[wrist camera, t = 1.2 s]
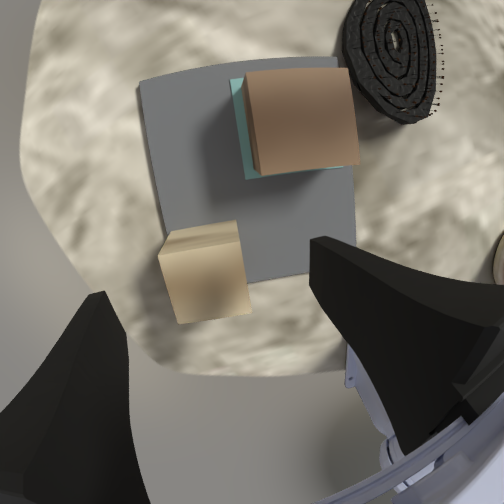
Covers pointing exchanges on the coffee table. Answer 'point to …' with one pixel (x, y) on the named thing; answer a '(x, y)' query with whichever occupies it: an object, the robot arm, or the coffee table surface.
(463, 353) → the robot arm
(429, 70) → the hairbrush
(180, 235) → the birch block
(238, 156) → the mat
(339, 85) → the walnut block
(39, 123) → the coffee table surface
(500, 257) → the stacking toy
